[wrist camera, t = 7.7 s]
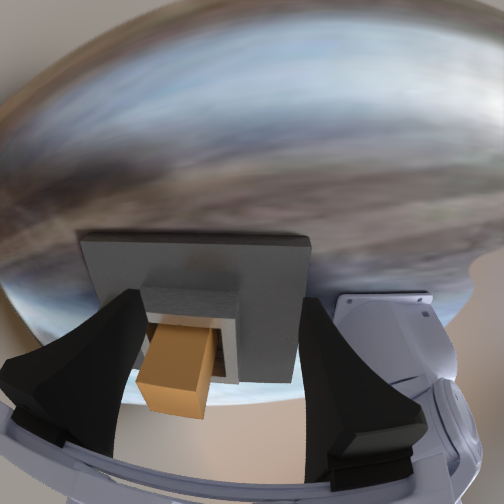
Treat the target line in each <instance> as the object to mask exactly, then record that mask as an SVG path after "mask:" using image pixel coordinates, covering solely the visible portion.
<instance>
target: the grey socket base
mask: <svg viewBox="0 0 504 504" xmlns="http://www.w3.org/2000/svg"><path fill="white" fill-rule="evenodd" d="M80 244H81V248H82V251H83V255H84V258H85V261H86V264H87V268H88V271H89V274H90V277H91V280H92V283H93V286H94V288H95V291H96V294H97V297H98V299H99V302H100V305H101V307H100V309H99V310H101V309H102V308H103V307H104V306H106V305H107V304H108V303H109V302H111V301H112V300H113V299H114V298H116V297H117V296H118V295H120V294H121V293H122V292H124V291H125V290H126V289H139V290H140V294H141V297H142V301H143V304H144V308H145V311H146V315H147V318H148V321H149V324H148V328H147V332H146V335H145V339H144V342H143V344H142V347H141V349H140V351H139V354H138V356H137V358H136V361H135V363H134V365H133V368H132V369H138V370H140V368H141V366H142V363H143V361H144V358H145V356H146V353H147V351H148V348H149V346H150V343H151V341H152V339H153V336H154V334H155V331H156V329H157V327H158V324H159V323H160V324H170V325H180V326H192V327H205V328H217V334H218V344H217V349H216V354H215V359H214V365H213V370H212V375H211V380H210V382H213V383H225V384H239V382H256V383H291V380H292V375H293V370H294V364H295V358H296V353H297V347H298V330H299V323H300V317H301V310H302V303H303V297H305V295H306V287H307V280H308V272H309V264H310V256H311V243H310V239H309V237H294V236H261V235H221V234H162V233H88V234H87V235H86V236H85V237H84V238H83V239H82V240H81V241H80ZM99 310H98V311H99Z"/></svg>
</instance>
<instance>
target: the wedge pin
mask: <svg viewBox="0 0 504 504" xmlns="http://www.w3.org/2000/svg"><path fill="white" fill-rule="evenodd" d="M217 344H218V334H217V328H205V327H192V326H180V325H170V324H160V323H159V324H158V327H157V329H156V331H155V334H154V336H153V339H152V341H151V343H150V346H149V348H148V351H147V353H146V356H145V358H144V361H143V363H142V366H141V368H140V371H139V373H138V376H137V379H136V381H135V382H136V384H137V386H138V388H139V390H140V392H141V394H142V396H143V398H144V400H145V401H146V403H147V405H148V407H149V409H150V410H151V411H154V412H159V413H165V414H170V415H176V416H182V417H189V418H195V419H203V418H204V412H205V407H206V402H207V396H208V391H209V386H210V380H211V375H212V370H213V365H214V359H215V354H216V349H217Z"/></svg>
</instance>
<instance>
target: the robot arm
mask: <svg viewBox="0 0 504 504" xmlns="http://www.w3.org/2000/svg"><path fill="white" fill-rule="evenodd" d="M419 298H420V299H419ZM349 299H351V300H350V301H347V300H349ZM432 299H433V296H432V295H431V294H430V293H411V294H343V295H340V296H339V297H338V299H337V304H336V308H335V312H334V316H333V321H332V320H331V318H330V317H329V315H328V314H327V312H326V310H325V309H324V307H323V305H322V303H321V301H320V300H319V299H318V298H309V297H303V303H302V310H301V317H300V323H299V330H298V341H299V356H300V363H301V370H302V377H303V384H304V391H305V400H306V464H305V481H304V484H246V483H233V482H222V481H213V480H206V479H199V478H192V477H186V476H180V475H175V474H170V473H165V472H161V471H156V470H152V469H148V468H144V467H140V466H136V465H133V464H129V463H126V462H123V461H119V460H116V459H113V449H114V439H115V431H116V424H117V419H118V413H119V409H120V404H121V400H122V396H123V393H124V389H125V385H126V383H127V380H128V377H129V375H130V372H131V370H132V368H133V365H134V363H135V361H136V358H137V356H138V354H139V351H140V349H141V347H142V344H143V342H144V339H145V335H146V332H147V328H148V324H149V321H148V318H147V315H146V311H145V308H144V304H143V301H142V297H141V294H140V290H139V289H126V290H125V291H124V292H122V293H121V294H120V295H118V296H117V297H116V298H114V299H113V300H112V301H111V302H109V303H108V304H107V305H106V306H104V307H103V308H102V309H101V310H99V311H98V312H97V313H96V314H94V315H93V316H92V317H90V318H89V319H88V320H86V321H85V322H84V323H82V324H81V325H80V326H78V327H77V328H75V329H74V330H72V331H71V332H69V333H67V334H66V335H64V336H63V337H61V338H59V339H57V340H55V341H53V342H51V343H49V344H47V345H46V346H43V347H41V348H39V349H37V350H34V351H32V352H29V353H27V354H24V355H21V356H17V357H14V358H11V359H7V360H6V361H5V363H4V364H3V366H2V368H1V369H0V389H1V390H2V391H3V392H4V393H5V395H6V396H7V397H8V398H9V399H10V400H11V401H12V402H13V403H14V404H15V405H16V408H15V410H13V409H12V408H10V407H9V406H7V405H6V404H4V403H2V402H1V401H0V455H2V456H3V457H4V458H6V459H7V460H8V461H10V462H11V463H12V464H14V465H15V466H17V467H18V468H20V469H21V470H23V471H24V472H26V473H27V474H29V475H30V476H32V477H33V478H35V479H37V480H38V481H40V482H42V483H43V484H45V485H47V486H48V487H50V488H52V489H54V490H56V491H57V492H59V493H61V494H63V495H65V496H67V497H68V498H67V502H66V504H202V503H197V502H191V501H187V500H182V499H177V498H173V497H168V496H164V495H160V494H156V493H152V492H148V491H144V490H141V489H137V488H134V487H130V486H127V485H123V484H120V483H117V482H116V481H114V480H112V479H111V478H110V477H109V476H108V475H105V474H103V473H106V474H109V475H112V476H115V477H118V478H121V479H124V480H127V481H130V482H134V483H137V484H141V485H144V486H148V487H152V488H156V489H160V490H165V491H169V492H174V493H179V494H184V495H190V496H196V497H203V498H210V499H218V500H228V501H240V502H260V503H252V504H462V502H461V499H460V498H461V496H462V495H463V494H464V492H465V491H466V490H467V488H468V487H469V486H470V484H471V483H472V482H473V480H474V479H475V477H476V476H477V474H478V472H479V470H480V468H481V461H482V457H483V451H482V445H481V442H480V439H479V437H478V433H477V429H476V425H475V422H474V419H473V416H472V413H471V411H470V408H469V406H468V404H467V402H466V400H465V398H464V396H463V394H462V393H461V391H460V389H459V388H458V386H457V385H456V384H455V383H454V381H455V378H456V374H457V357H456V352H455V349H454V347H453V344H452V342H451V340H450V339H449V337H448V335H447V333H446V331H445V329H444V327H443V326H442V324H441V322H440V320H439V319H438V317H437V315H436V313H435V312H434V310H433V308H432V307H431V305H430V304H431V301H432ZM92 468H93V469H92ZM94 469H95V470H94ZM97 470H98V471H97ZM99 471H101V472H103V473H101V472H99Z"/></svg>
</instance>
